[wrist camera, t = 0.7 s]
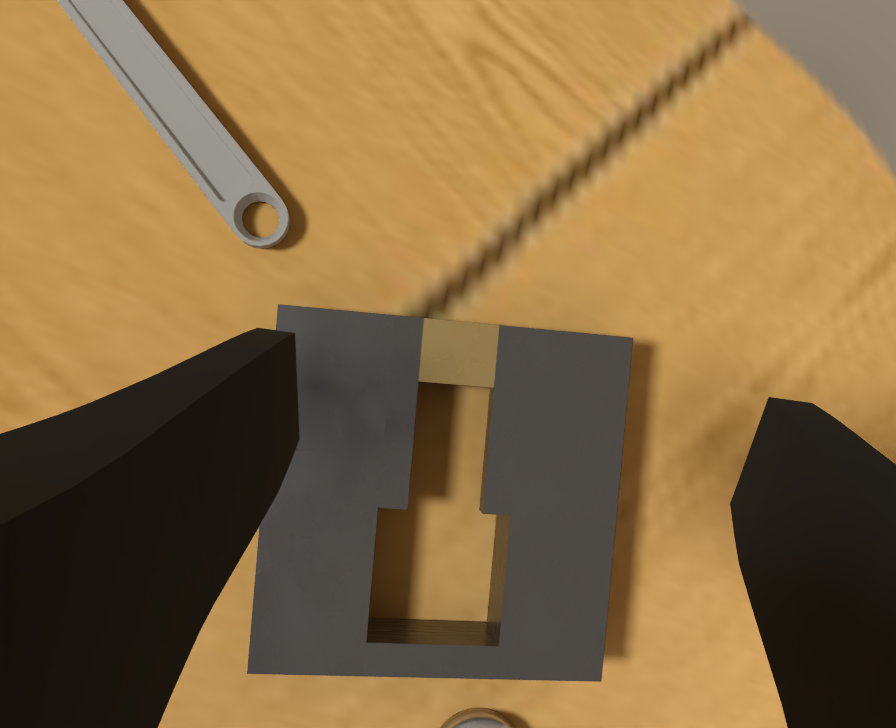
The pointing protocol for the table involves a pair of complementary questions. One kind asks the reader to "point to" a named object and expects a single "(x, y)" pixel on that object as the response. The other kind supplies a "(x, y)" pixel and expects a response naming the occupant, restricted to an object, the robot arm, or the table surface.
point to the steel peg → (477, 719)
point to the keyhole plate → (387, 486)
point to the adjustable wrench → (178, 114)
